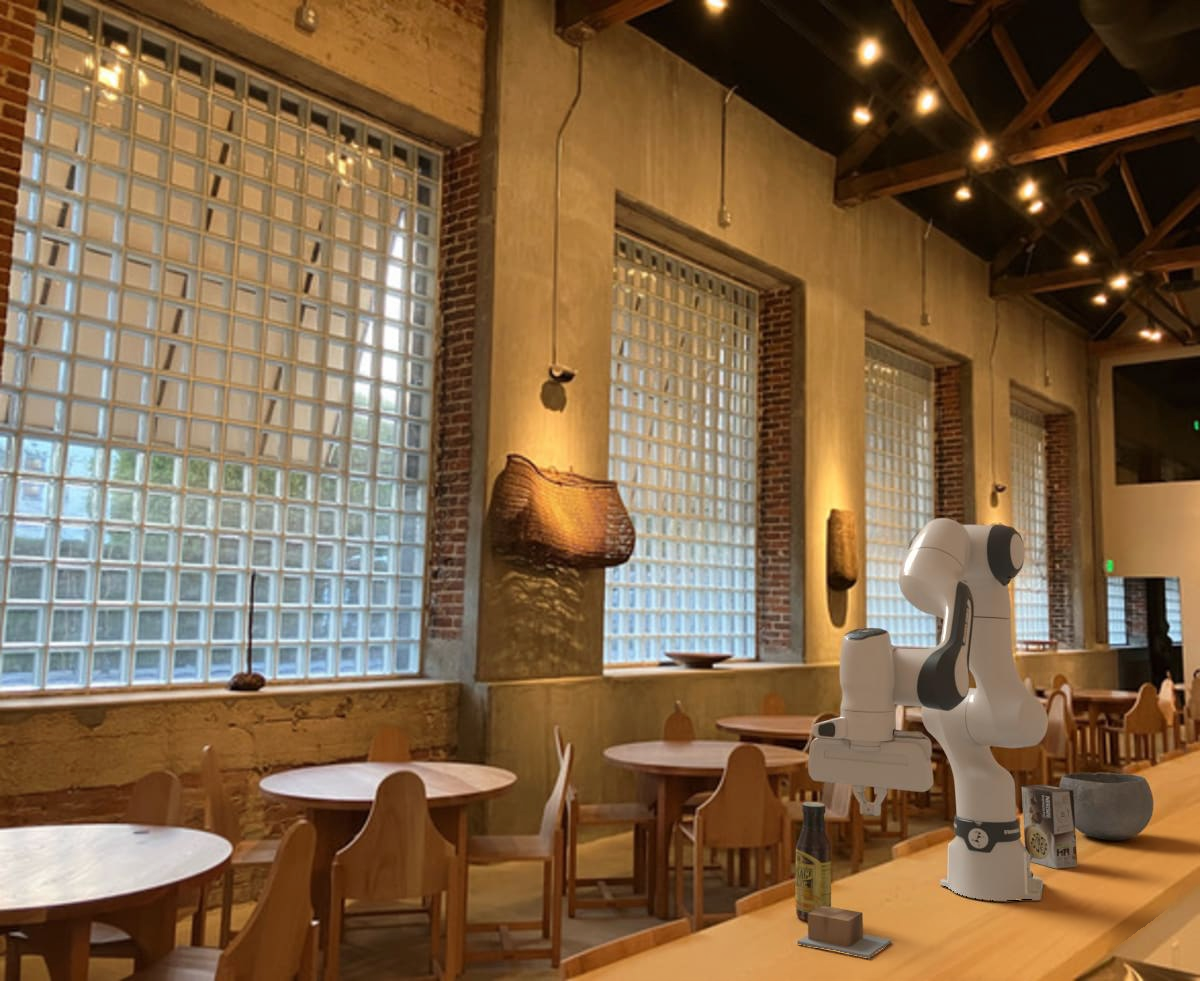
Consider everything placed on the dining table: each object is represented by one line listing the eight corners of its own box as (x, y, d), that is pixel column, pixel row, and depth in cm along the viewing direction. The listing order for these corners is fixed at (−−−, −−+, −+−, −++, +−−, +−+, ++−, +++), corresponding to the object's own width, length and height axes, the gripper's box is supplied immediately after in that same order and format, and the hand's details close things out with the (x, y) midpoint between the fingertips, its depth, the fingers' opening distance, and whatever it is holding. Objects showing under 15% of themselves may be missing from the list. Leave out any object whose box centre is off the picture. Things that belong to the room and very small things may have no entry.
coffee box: (1079, 867, 222) (1075, 789, 224) (1056, 869, 219) (1052, 791, 221) (1046, 857, 230) (1042, 783, 232) (1023, 860, 228) (1020, 785, 230)
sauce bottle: (789, 915, 185) (787, 801, 187) (819, 912, 187) (816, 799, 189) (808, 925, 179) (806, 807, 181) (839, 922, 181) (837, 805, 183)
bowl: (1134, 830, 260) (1131, 769, 262) (1171, 848, 240) (1167, 782, 242) (1049, 828, 262) (1047, 768, 264) (1078, 846, 242) (1075, 780, 244)
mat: (822, 930, 176) (822, 926, 176) (891, 943, 169) (891, 939, 169) (797, 944, 168) (797, 941, 168) (868, 959, 161) (868, 955, 161)
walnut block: (863, 937, 170) (823, 930, 174) (862, 912, 171) (822, 905, 175) (848, 947, 165) (808, 939, 169) (848, 921, 166) (807, 913, 170)
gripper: (937, 730, 166) (940, 819, 165) (819, 722, 178) (820, 804, 177) (924, 734, 161) (927, 825, 160) (803, 725, 173) (805, 810, 172)
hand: (870, 814), depth 168 cm, fingers closed
